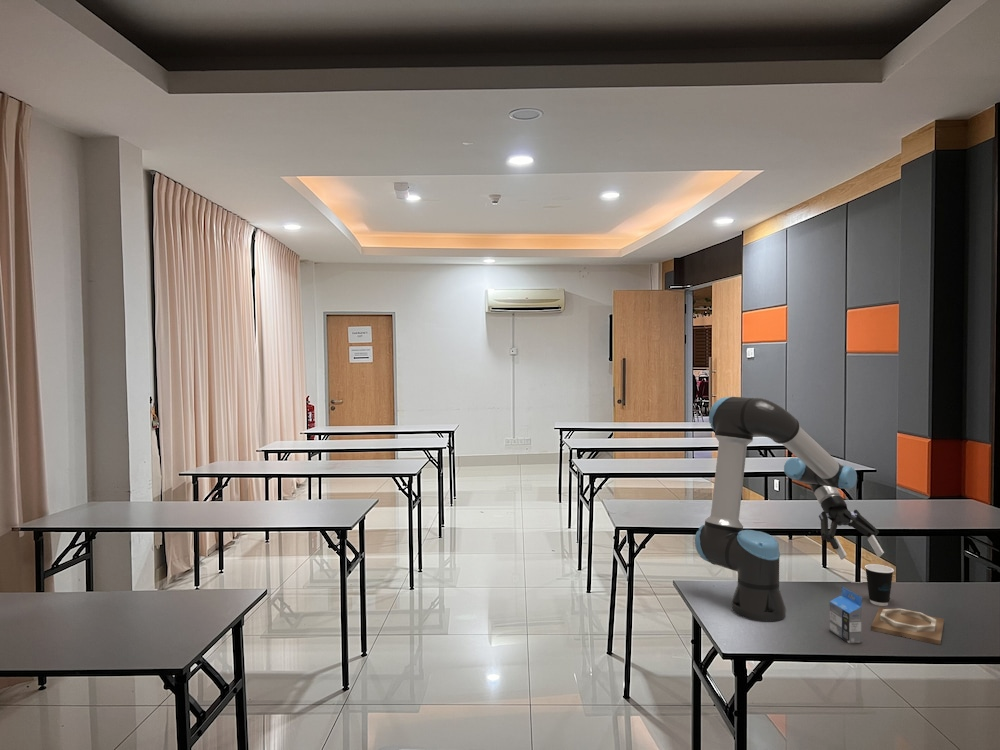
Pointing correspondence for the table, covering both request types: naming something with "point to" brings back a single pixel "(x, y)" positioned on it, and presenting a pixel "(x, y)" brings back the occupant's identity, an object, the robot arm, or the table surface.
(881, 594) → the dixie cup
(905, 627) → the board
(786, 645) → the table surface
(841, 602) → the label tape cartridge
